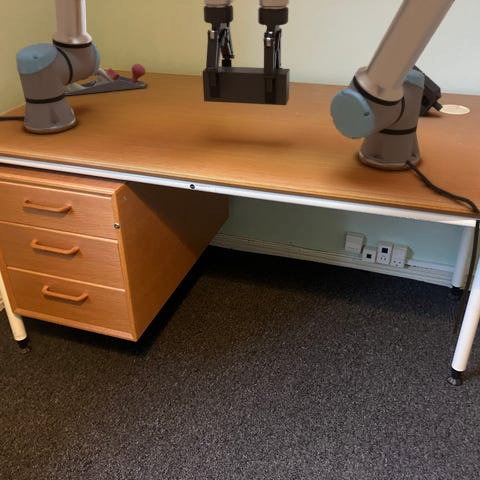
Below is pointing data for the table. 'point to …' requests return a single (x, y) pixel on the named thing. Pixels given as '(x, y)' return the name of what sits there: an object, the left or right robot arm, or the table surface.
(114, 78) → the hand plane
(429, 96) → the tool
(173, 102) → the table surface
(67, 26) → the left robot arm
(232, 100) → the bar
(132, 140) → the table surface
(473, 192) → the table surface
